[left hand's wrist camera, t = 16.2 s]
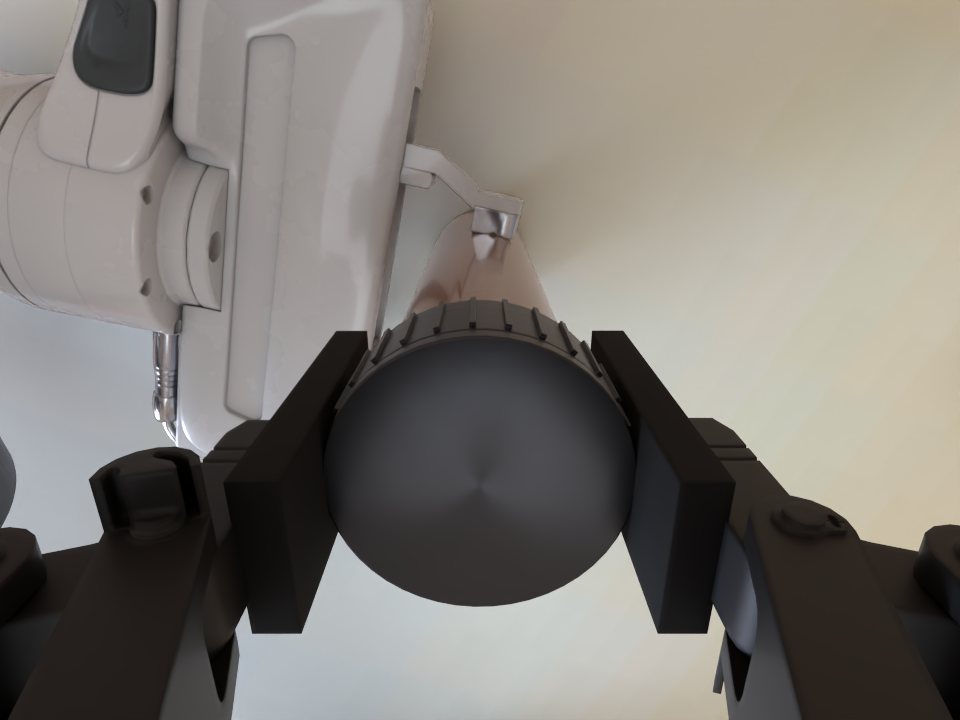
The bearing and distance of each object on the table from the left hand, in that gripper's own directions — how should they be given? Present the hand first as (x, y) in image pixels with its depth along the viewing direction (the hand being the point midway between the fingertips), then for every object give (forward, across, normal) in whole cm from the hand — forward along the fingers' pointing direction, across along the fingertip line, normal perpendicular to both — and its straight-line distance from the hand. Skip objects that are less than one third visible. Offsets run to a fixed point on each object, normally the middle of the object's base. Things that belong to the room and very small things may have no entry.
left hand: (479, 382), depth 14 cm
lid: (-4, 0, 0) cm, 4 cm away
